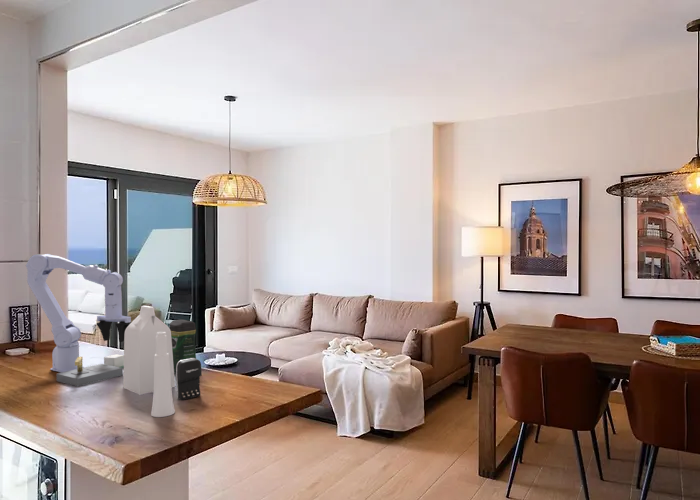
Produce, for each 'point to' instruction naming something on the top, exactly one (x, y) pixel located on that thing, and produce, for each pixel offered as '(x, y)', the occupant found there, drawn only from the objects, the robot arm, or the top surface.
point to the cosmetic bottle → (162, 380)
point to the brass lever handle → (79, 364)
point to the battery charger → (188, 378)
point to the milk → (144, 351)
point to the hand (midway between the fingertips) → (114, 340)
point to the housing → (89, 374)
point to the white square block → (114, 360)
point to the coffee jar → (182, 340)
